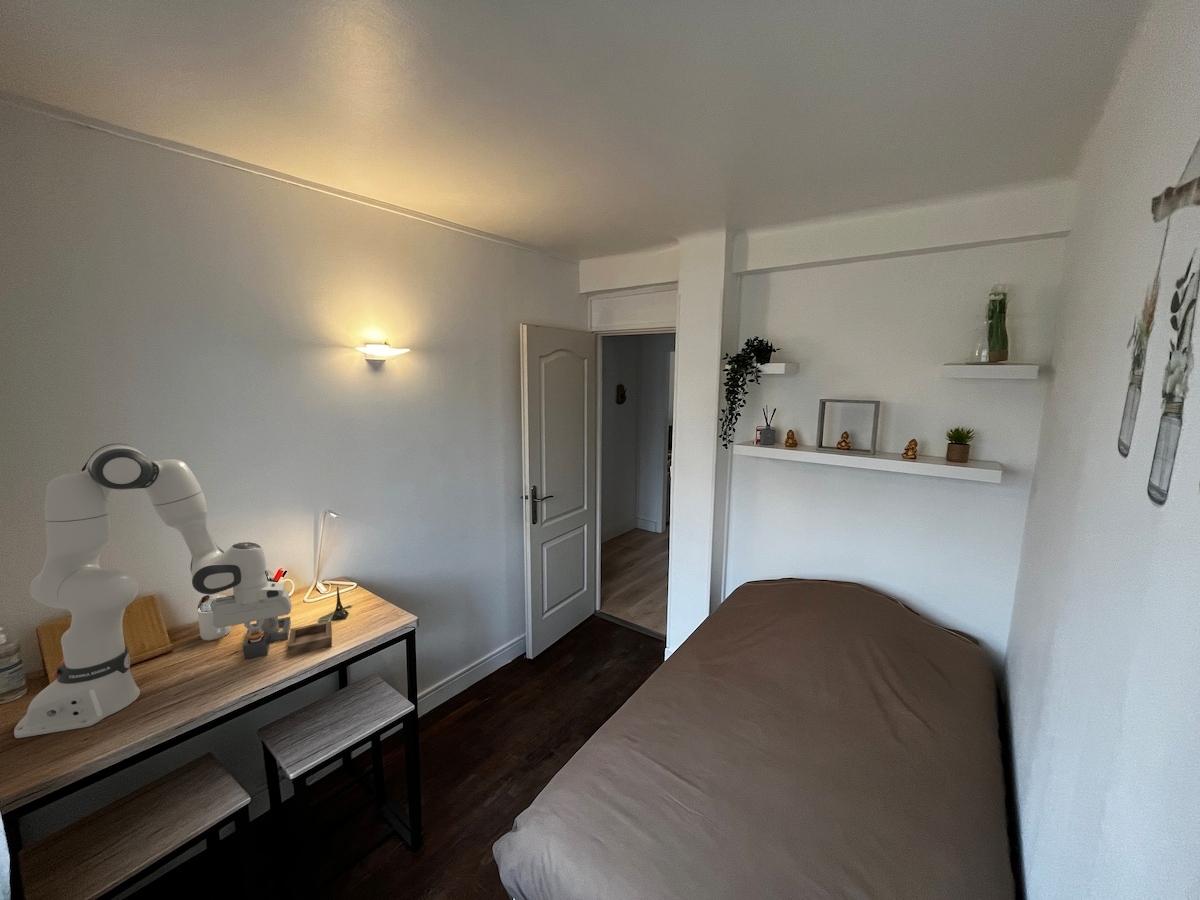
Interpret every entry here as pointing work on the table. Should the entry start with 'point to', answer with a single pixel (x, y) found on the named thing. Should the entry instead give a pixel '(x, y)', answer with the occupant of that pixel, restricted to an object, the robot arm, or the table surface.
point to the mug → (210, 627)
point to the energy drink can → (270, 625)
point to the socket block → (265, 640)
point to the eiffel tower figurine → (336, 612)
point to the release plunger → (255, 636)
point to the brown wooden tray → (310, 638)
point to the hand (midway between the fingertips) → (255, 632)
